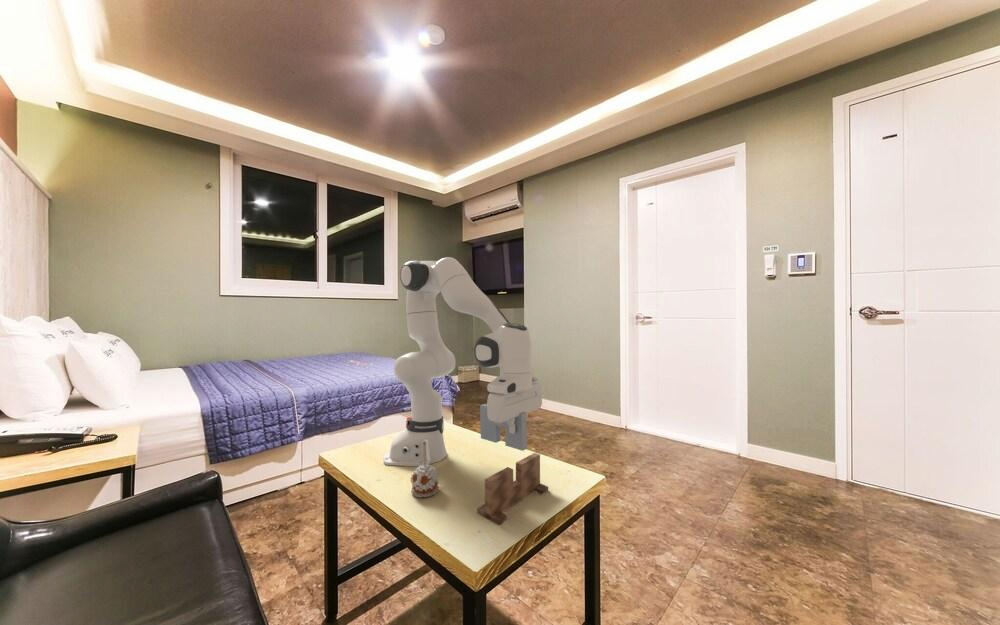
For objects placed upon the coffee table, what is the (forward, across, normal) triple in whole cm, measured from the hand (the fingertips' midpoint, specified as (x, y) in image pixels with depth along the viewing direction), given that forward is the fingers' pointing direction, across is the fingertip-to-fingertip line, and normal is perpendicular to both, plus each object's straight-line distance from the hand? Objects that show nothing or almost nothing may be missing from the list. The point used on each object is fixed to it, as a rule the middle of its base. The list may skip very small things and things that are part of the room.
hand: (517, 431), depth 99 cm
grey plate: (+5, 0, -6) cm, 7 cm away
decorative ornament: (+20, +13, -25) cm, 35 cm away
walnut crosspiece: (+20, 0, -2) cm, 20 cm away
